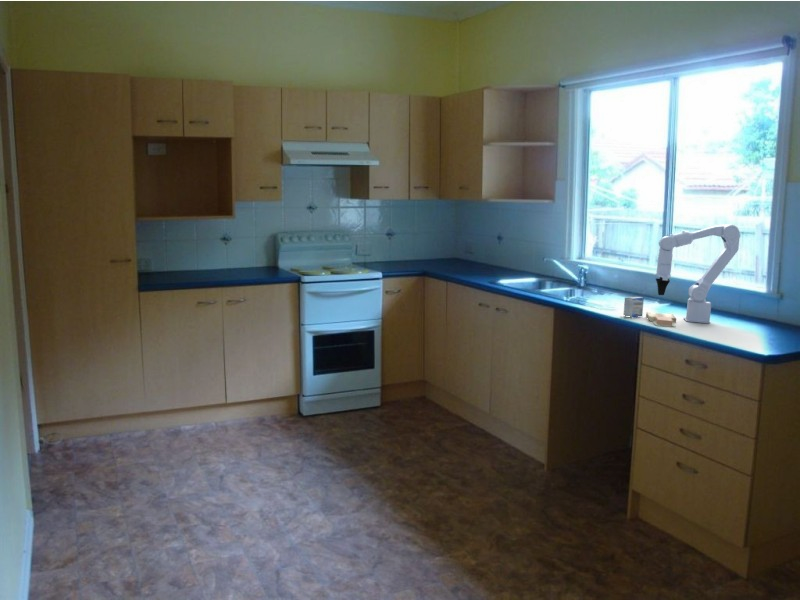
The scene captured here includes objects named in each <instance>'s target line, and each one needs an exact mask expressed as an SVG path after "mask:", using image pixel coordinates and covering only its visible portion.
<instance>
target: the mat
mask: <svg viewBox="0 0 800 600" xmlns="http://www.w3.org/2000/svg"><path fill="white" fill-rule="evenodd" d="M653 322H654V323H653ZM652 323H653V325H654V326H657V325H658V324H657V323H656V322H655V321H652ZM660 326H661V327H671V325H660ZM672 326H673V328H676V325H675V323H673V325H672Z"/></svg>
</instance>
